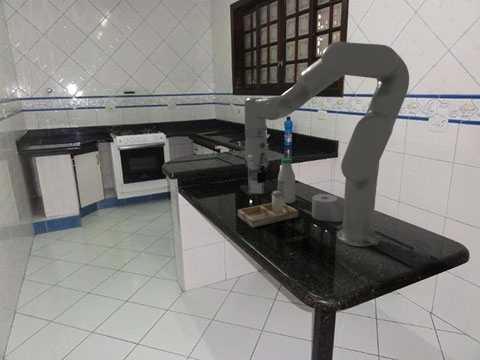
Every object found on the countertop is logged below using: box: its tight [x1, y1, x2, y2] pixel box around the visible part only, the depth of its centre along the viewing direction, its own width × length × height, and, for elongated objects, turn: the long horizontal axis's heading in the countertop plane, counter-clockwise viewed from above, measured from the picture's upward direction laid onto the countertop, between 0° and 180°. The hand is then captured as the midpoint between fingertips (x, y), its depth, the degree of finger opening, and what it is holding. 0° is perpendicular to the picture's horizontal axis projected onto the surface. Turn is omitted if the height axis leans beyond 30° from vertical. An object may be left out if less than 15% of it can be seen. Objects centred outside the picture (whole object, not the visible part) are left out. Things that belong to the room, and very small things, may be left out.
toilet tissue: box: [311, 193, 344, 223], centre depth 126 cm, size 9×13×9 cm
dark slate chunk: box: [239, 177, 278, 197], centre depth 165 cm, size 15×22×5 cm
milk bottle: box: [277, 157, 296, 204], centre depth 144 cm, size 8×8×20 cm
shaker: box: [271, 191, 283, 214], centre depth 129 cm, size 4×4×9 cm
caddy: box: [236, 202, 299, 228], centre depth 128 cm, size 13×20×4 cm, turn 116°
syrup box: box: [247, 155, 264, 194], centre depth 122 cm, size 6×6×14 cm
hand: (255, 179), depth 122 cm, fingers closed on syrup box, 7 cm apart
